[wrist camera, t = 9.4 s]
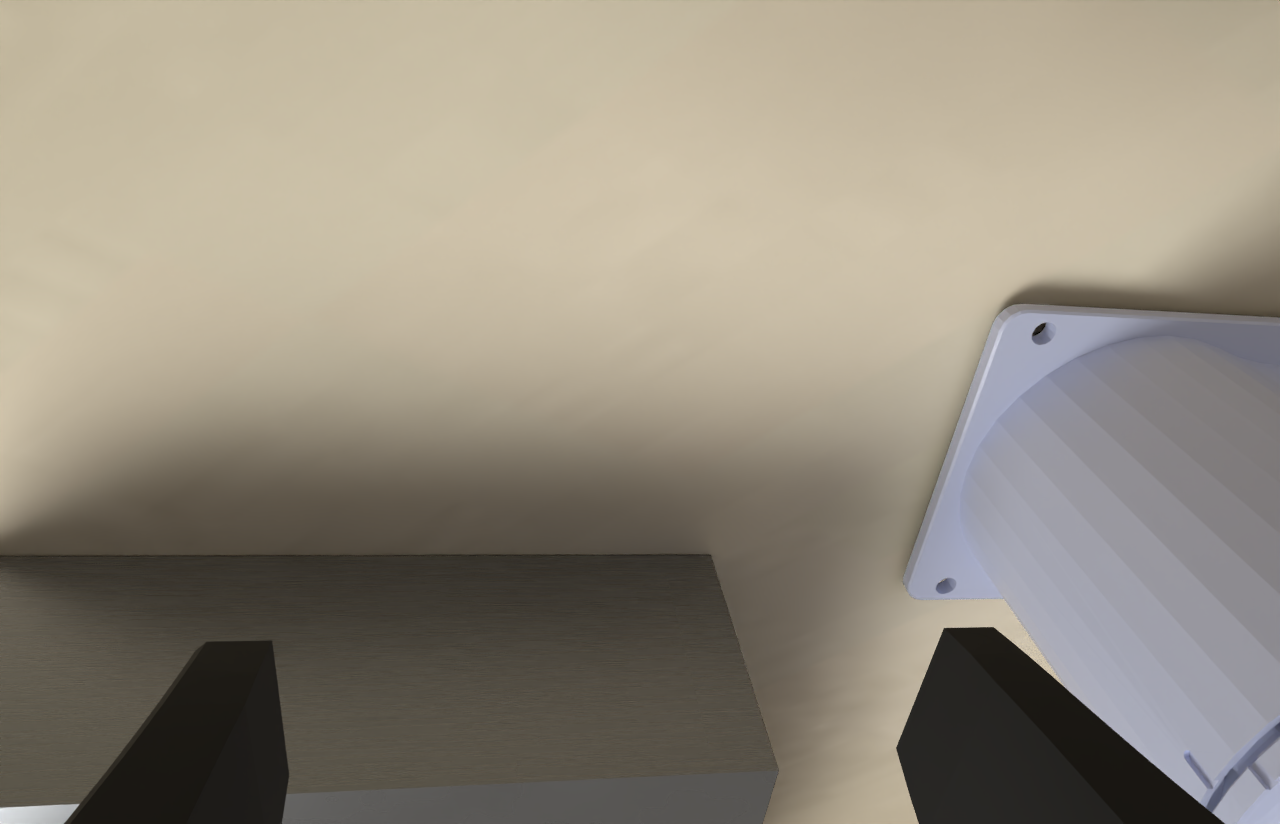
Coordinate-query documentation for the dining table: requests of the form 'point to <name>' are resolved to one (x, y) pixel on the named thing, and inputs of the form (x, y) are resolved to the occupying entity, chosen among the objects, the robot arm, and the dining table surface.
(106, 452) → the dining table surface
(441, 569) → the grey box with hole
